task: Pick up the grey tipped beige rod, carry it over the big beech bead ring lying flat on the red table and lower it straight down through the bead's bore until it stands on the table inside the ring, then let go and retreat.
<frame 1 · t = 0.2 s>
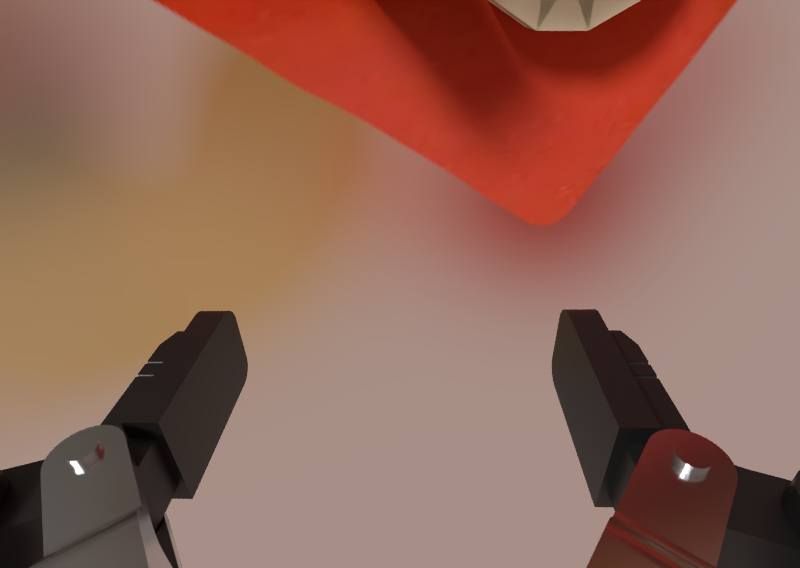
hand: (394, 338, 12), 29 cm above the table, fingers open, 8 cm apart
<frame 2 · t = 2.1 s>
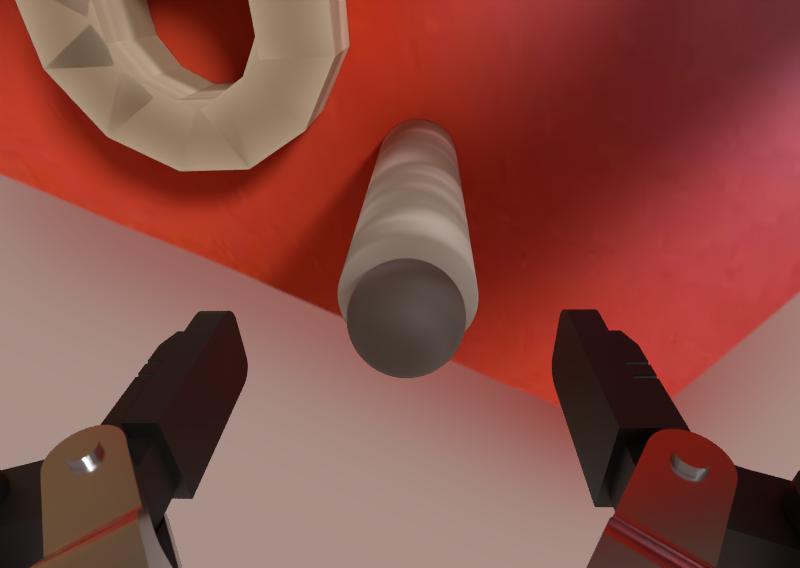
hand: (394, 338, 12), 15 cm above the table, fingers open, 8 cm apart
bead: (214, 11, 21), on the table
grey tipped beige rod: (417, 159, 24), on the table
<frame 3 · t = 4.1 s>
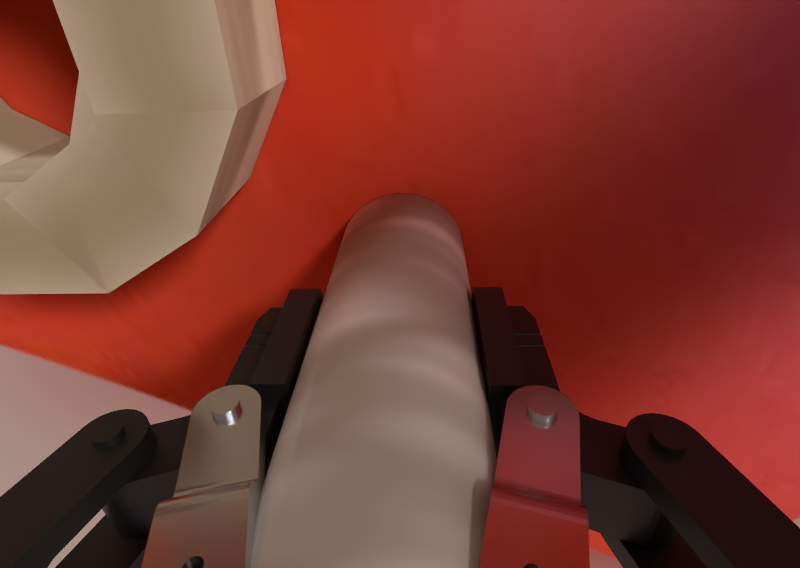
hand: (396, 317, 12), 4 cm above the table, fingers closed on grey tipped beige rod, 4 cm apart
bead: (51, 19, 12), on the table
grey tipped beige rod: (402, 250, 16), on the table, touching gripper
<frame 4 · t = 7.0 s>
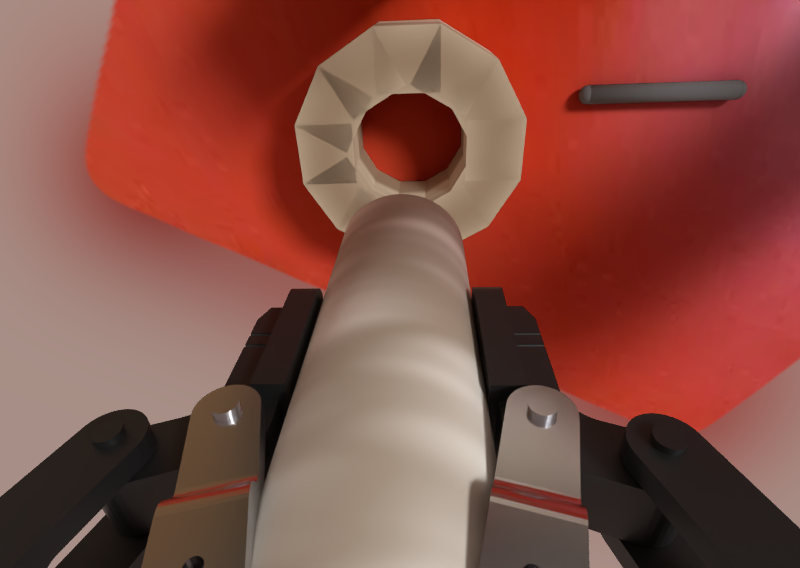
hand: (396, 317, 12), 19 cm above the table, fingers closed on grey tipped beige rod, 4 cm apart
bead: (411, 133, 28), on the table
dark grey rod: (657, 90, 26), on the table
grey tipped beige rod: (402, 250, 16), point 15 cm above the table, touching gripper
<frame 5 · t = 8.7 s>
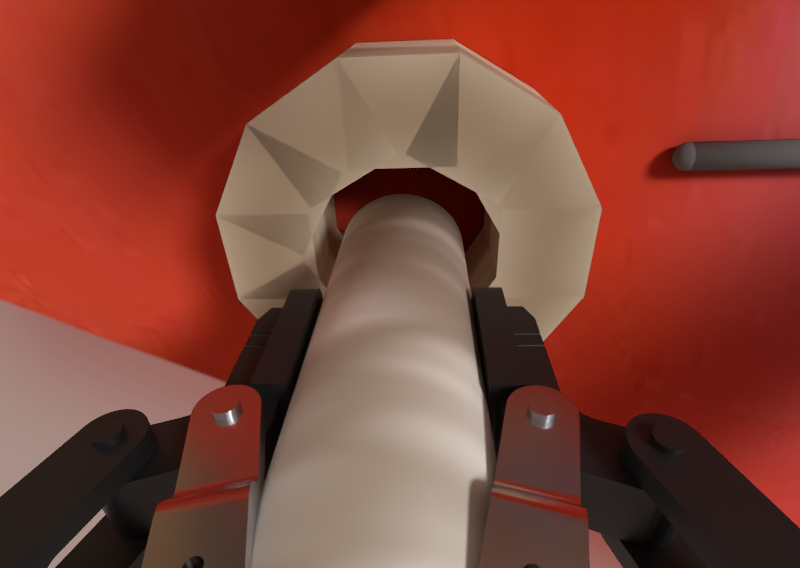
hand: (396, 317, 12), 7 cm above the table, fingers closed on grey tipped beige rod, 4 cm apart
bead: (409, 208, 19), on the table
dark grey rod: (796, 149, 17), on the table
grey tipped beige rod: (402, 250, 16), point 4 cm above the table, touching gripper
when the fingers open (5 cm above the table, at t = 10.1 s): grey tipped beige rod drops 1 cm, resting in bead.
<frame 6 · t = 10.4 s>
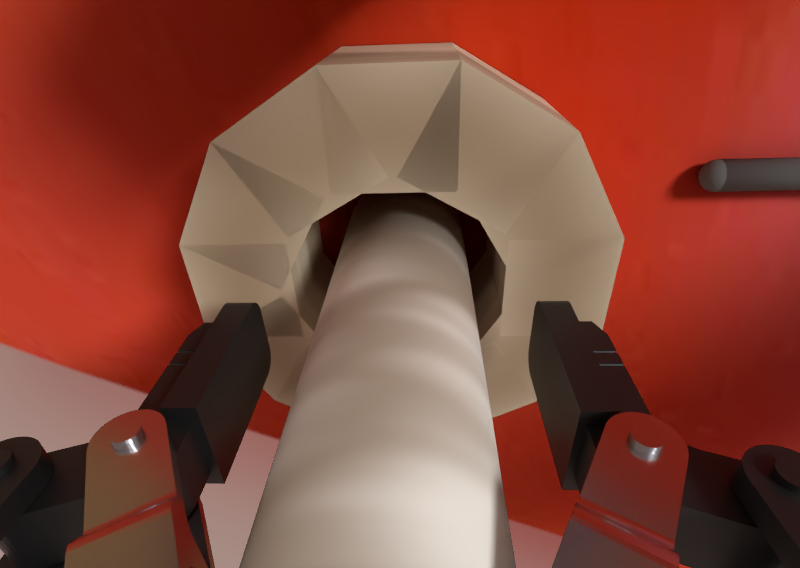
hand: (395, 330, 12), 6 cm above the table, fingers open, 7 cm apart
bead: (403, 231, 17), on the table
grey tipped beige rod: (405, 231, 17), resting in bead
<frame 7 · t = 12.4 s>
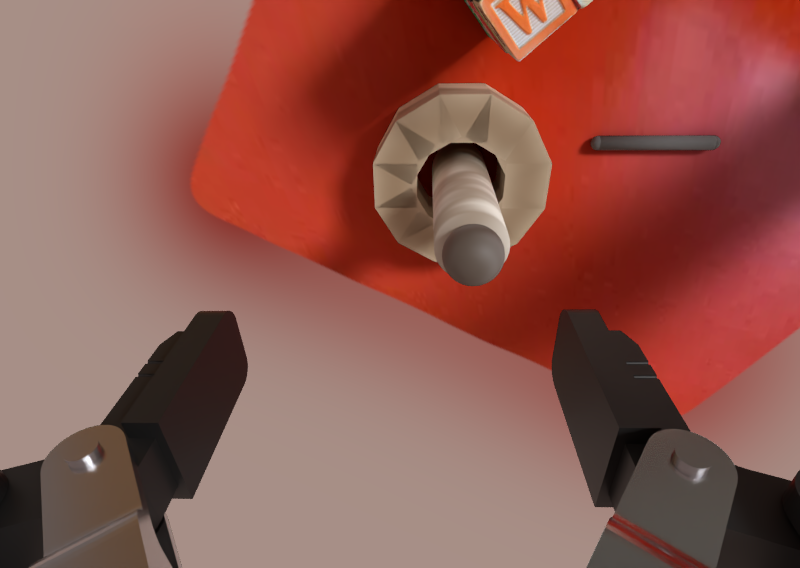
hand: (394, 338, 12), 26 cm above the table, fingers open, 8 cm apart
bead: (457, 167, 36), on the table
dark grey rod: (652, 141, 34), on the table
grey tipped beige rod: (458, 167, 36), resting in bead
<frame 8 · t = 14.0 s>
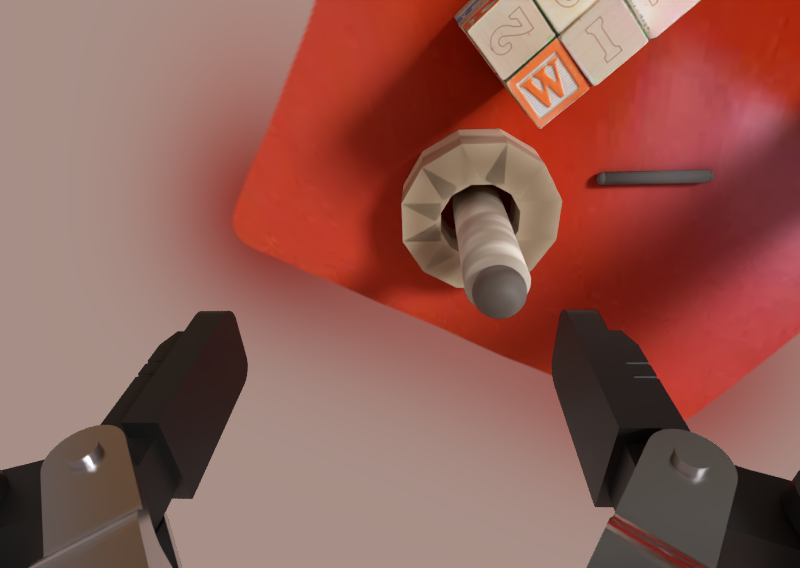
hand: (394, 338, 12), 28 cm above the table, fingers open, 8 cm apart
bead: (475, 202, 39), on the table
dark grey rod: (651, 175, 38), on the table
grey tipped beige rod: (475, 202, 39), resting in bead
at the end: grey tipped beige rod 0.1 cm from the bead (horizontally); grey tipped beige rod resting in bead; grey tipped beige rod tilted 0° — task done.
